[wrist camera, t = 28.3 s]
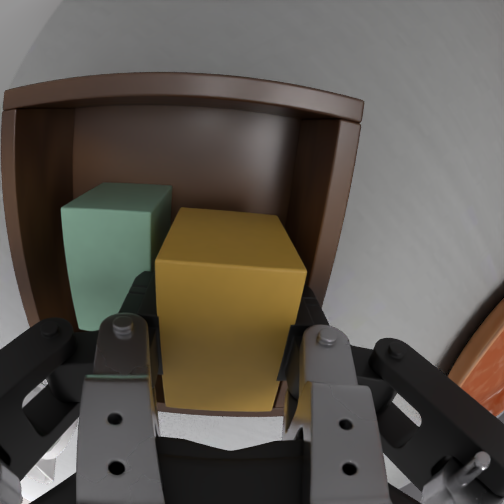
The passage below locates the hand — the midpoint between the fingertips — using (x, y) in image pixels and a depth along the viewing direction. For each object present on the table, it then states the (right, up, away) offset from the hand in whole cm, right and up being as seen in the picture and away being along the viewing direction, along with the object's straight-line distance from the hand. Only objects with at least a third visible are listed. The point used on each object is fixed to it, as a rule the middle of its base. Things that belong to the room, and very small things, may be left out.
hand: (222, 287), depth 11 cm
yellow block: (0, 0, +1) cm, 1 cm away
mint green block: (-5, +2, +3) cm, 6 cm away
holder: (-3, +2, +4) cm, 5 cm away
